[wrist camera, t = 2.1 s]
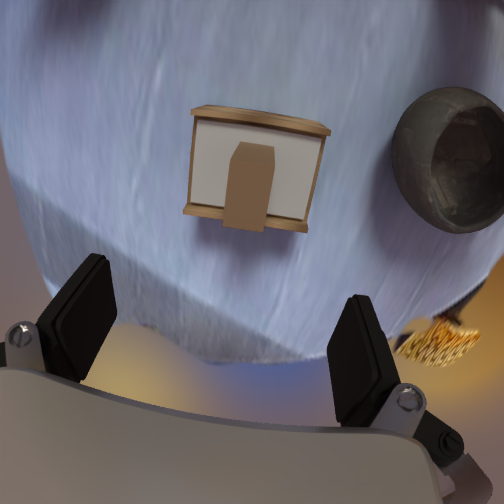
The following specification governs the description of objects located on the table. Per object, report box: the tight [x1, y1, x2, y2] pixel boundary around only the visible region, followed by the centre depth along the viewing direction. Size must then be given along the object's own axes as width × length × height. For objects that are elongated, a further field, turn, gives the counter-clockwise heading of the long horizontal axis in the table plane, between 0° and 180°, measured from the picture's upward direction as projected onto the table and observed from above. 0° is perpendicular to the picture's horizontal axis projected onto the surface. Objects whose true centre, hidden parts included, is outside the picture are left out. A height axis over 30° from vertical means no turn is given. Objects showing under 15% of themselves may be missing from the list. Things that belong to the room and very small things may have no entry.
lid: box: [190, 119, 322, 233], centre depth 24 cm, size 11×8×8 cm
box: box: [183, 105, 331, 233], centre depth 29 cm, size 12×10×7 cm
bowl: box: [392, 87, 504, 234], centre depth 25 cm, size 15×15×10 cm
